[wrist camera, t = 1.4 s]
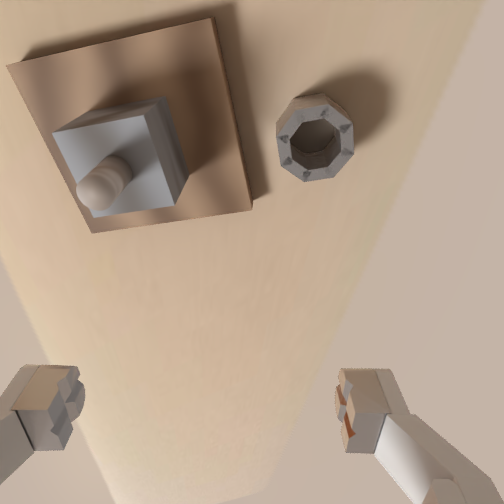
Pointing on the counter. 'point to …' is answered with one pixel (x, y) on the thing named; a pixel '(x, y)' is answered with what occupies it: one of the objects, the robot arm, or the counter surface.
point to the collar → (320, 161)
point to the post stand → (141, 126)
